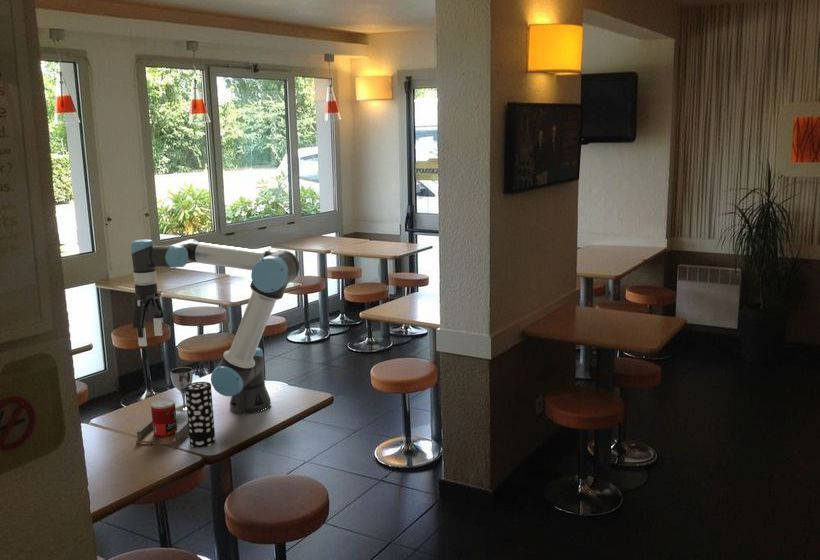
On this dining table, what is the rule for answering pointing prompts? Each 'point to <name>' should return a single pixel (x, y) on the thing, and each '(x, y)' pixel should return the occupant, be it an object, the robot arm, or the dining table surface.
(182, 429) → the holder
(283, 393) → the dining table surface
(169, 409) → the canned food
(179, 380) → the wine glass
